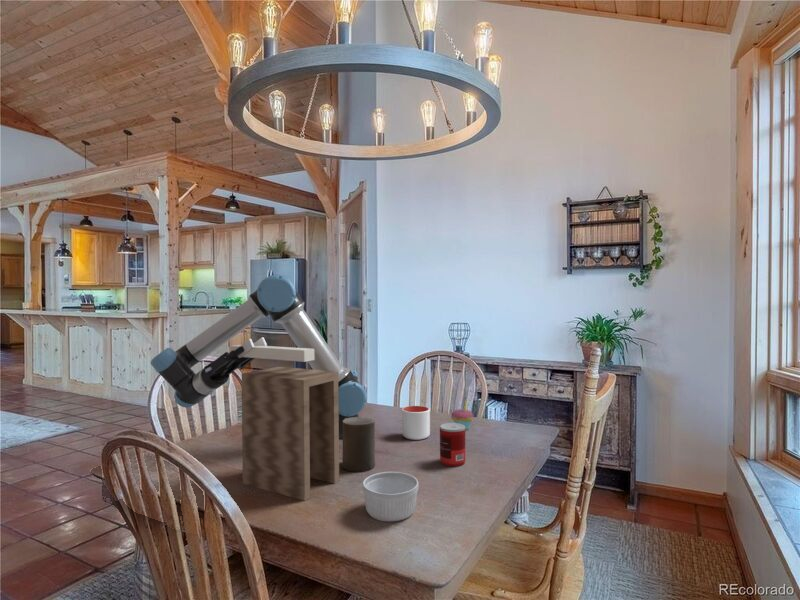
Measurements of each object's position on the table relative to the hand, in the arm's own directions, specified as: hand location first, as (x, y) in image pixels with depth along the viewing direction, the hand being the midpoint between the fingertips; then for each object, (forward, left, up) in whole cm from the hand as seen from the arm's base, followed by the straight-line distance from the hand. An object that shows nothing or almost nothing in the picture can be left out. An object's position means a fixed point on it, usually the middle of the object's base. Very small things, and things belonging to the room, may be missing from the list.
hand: (258, 342), depth 133 cm
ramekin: (-31, +32, -38) cm, 59 cm away
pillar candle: (-29, +1, -38) cm, 48 cm away
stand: (-9, +8, -38) cm, 40 cm away
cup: (-54, -22, -38) cm, 69 cm away
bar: (-3, +4, -4) cm, 6 cm away
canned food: (-57, +6, -38) cm, 68 cm away
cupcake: (-74, -27, -38) cm, 87 cm away
